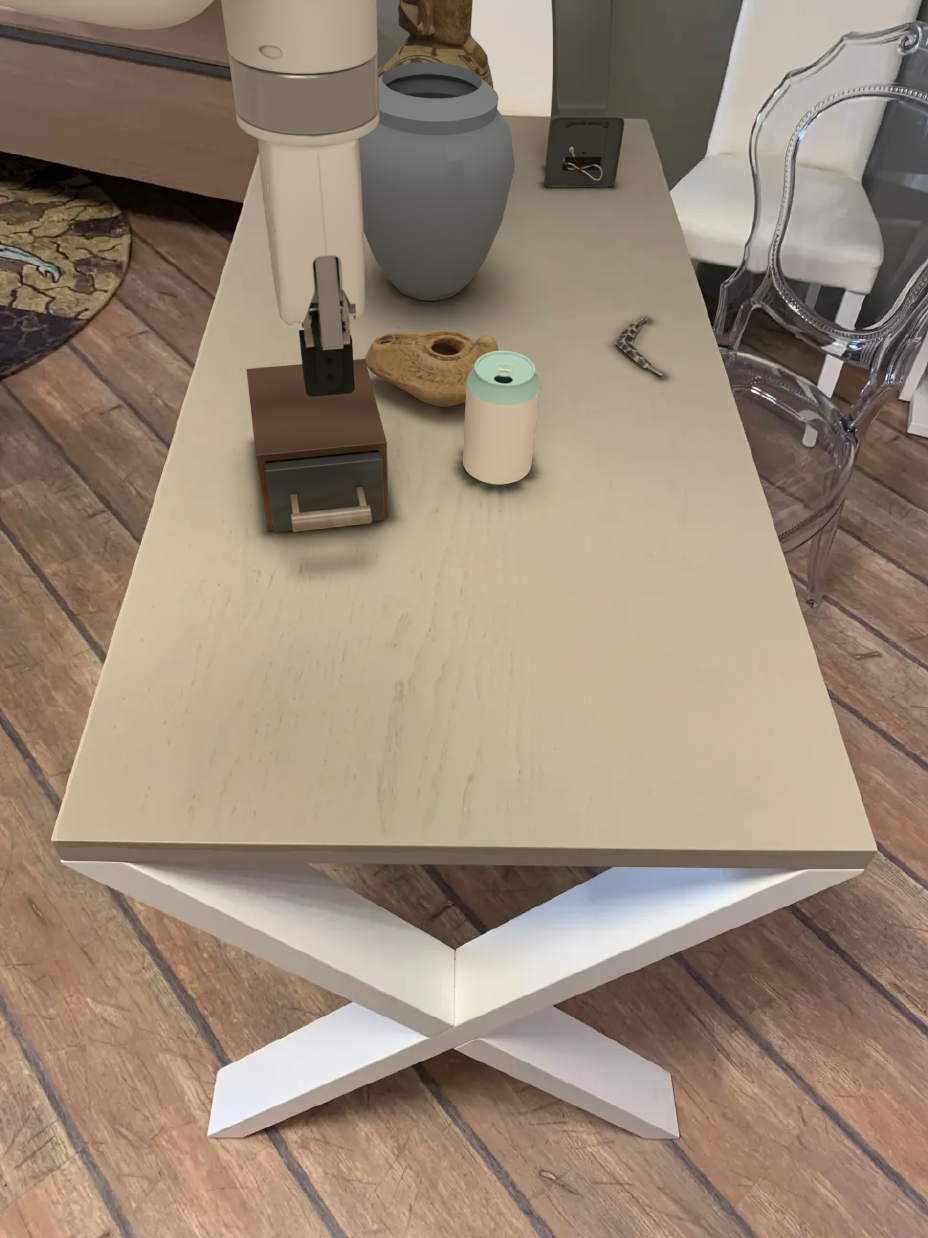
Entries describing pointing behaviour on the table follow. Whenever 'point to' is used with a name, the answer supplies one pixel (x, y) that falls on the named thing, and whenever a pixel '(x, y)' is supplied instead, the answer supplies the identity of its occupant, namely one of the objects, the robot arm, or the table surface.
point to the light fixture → (582, 98)
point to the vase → (434, 177)
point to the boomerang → (627, 346)
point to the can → (500, 417)
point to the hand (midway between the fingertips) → (329, 387)
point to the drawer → (325, 491)
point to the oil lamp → (429, 363)
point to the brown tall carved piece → (439, 36)
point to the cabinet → (311, 421)
